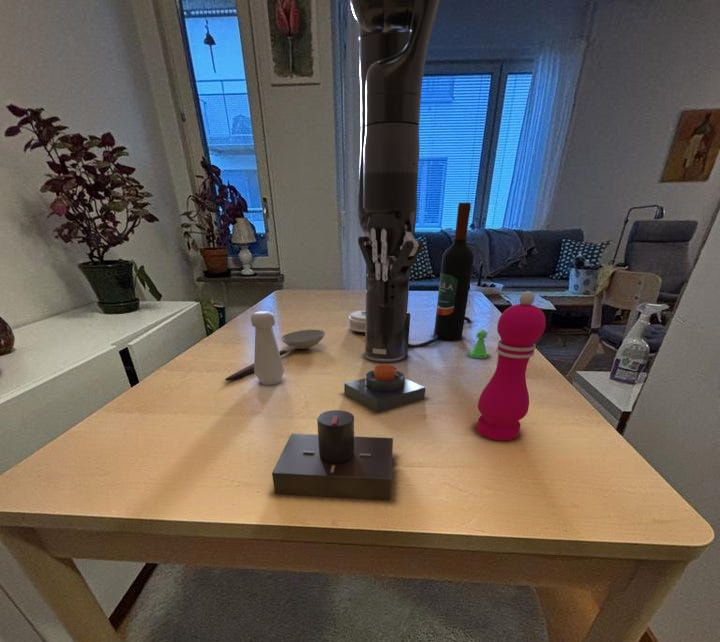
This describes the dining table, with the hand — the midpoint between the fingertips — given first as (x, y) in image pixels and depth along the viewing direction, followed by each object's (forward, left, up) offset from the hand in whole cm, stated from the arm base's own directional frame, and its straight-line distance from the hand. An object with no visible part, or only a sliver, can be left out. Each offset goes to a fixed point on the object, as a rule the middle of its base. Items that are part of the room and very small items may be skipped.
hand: (386, 305), depth 64 cm
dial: (+21, +17, -13) cm, 30 cm away
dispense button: (0, 0, -12) cm, 12 cm away
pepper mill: (-6, +21, -16) cm, 27 cm away
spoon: (+7, -31, -16) cm, 35 cm away
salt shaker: (+14, -19, -16) cm, 28 cm away
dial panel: (+21, +17, -16) cm, 31 cm away
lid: (-27, -41, -16) cm, 51 cm away
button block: (0, 0, -16) cm, 16 cm away
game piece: (-34, -7, -16) cm, 38 cm away
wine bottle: (-40, -23, -16) cm, 49 cm away
